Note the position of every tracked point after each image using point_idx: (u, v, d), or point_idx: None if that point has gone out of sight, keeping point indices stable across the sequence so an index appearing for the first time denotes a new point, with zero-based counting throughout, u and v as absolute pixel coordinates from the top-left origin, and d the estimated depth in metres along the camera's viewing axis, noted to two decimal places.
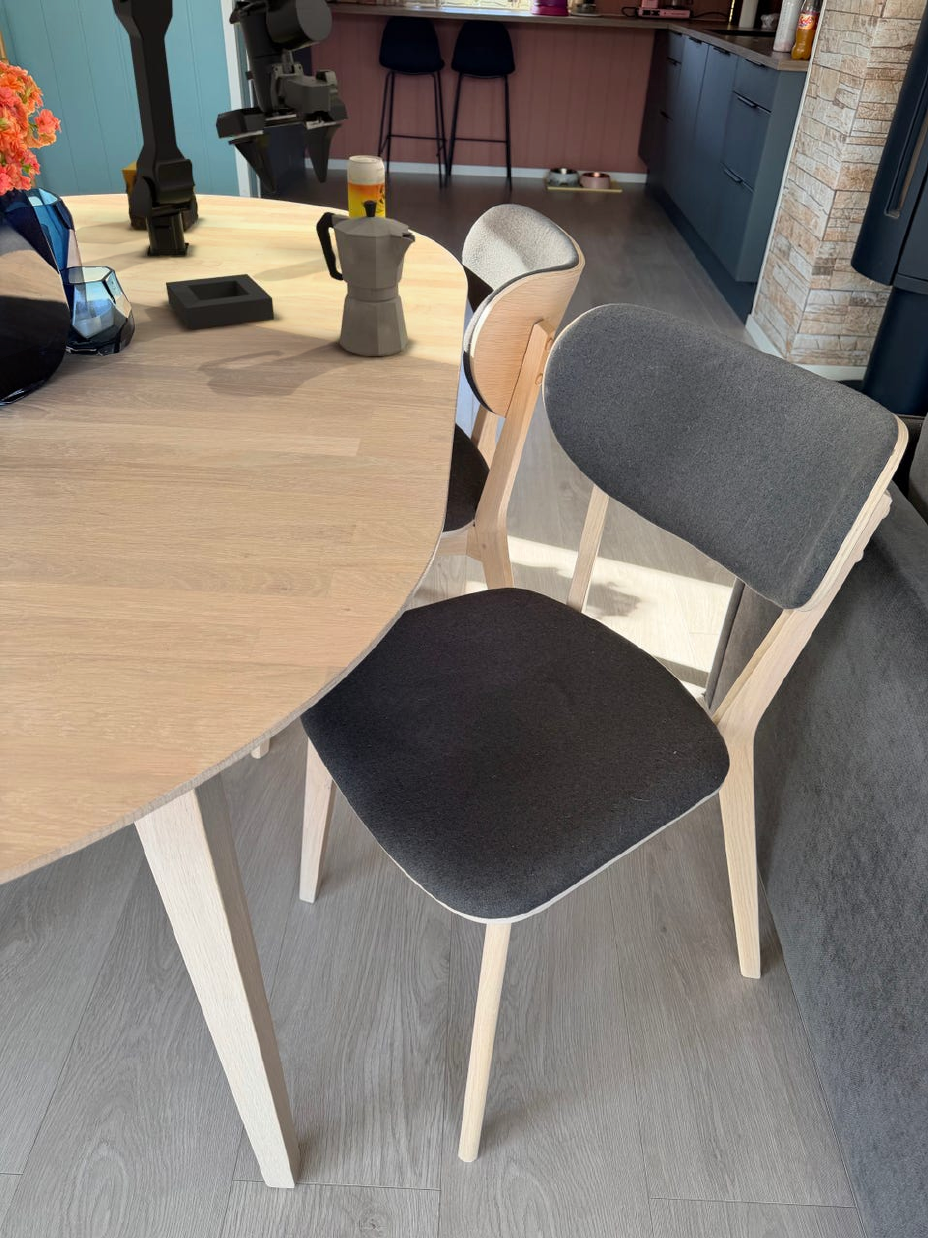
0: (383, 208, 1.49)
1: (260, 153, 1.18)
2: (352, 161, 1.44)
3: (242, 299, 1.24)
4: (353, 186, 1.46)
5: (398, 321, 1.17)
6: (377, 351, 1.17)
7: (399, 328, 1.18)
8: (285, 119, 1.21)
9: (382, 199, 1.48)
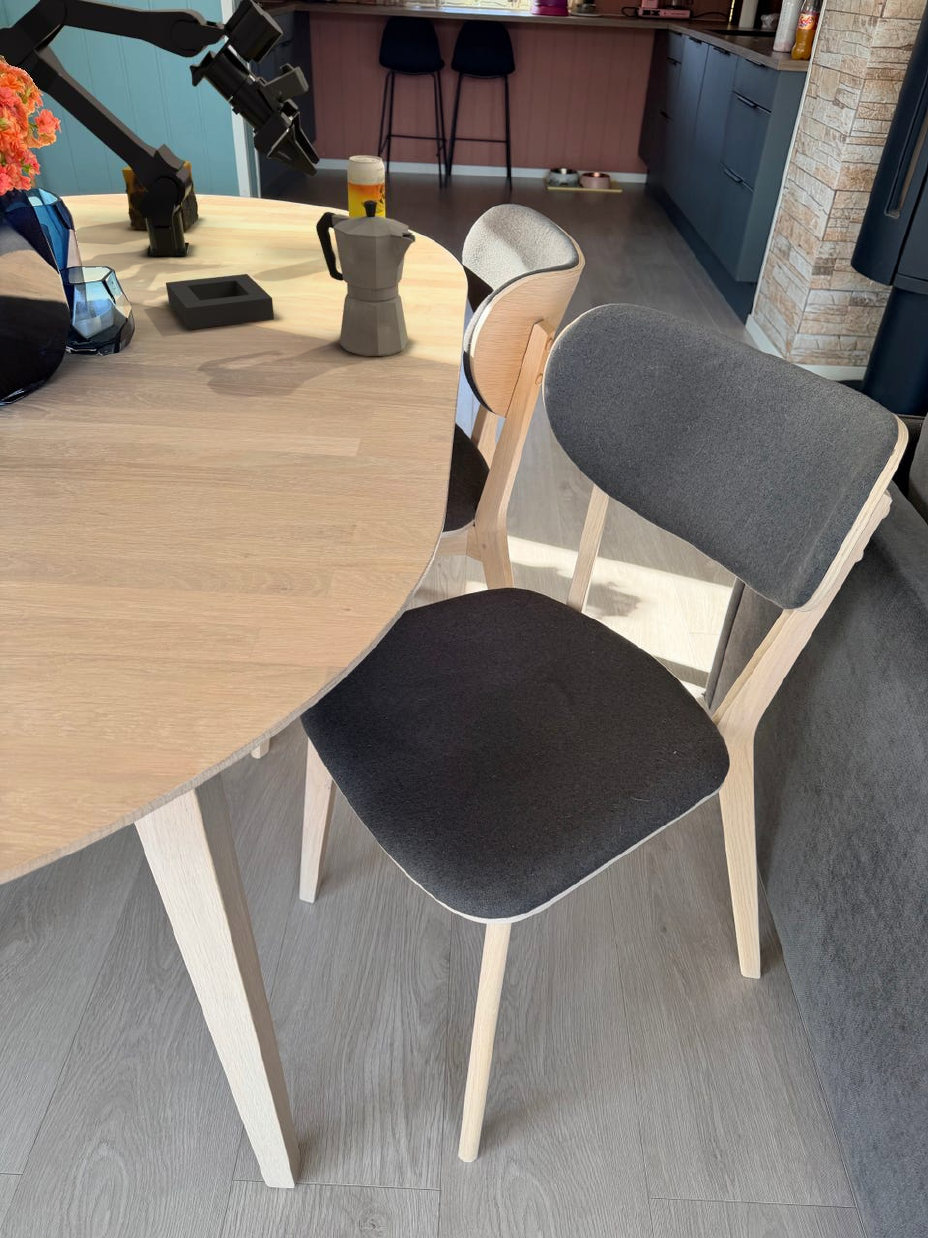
0: (383, 208, 1.49)
1: (297, 144, 1.38)
2: (352, 161, 1.44)
3: (242, 299, 1.24)
4: (354, 186, 1.46)
5: (398, 321, 1.17)
6: (377, 351, 1.17)
7: (399, 328, 1.18)
8: None
9: (382, 199, 1.48)
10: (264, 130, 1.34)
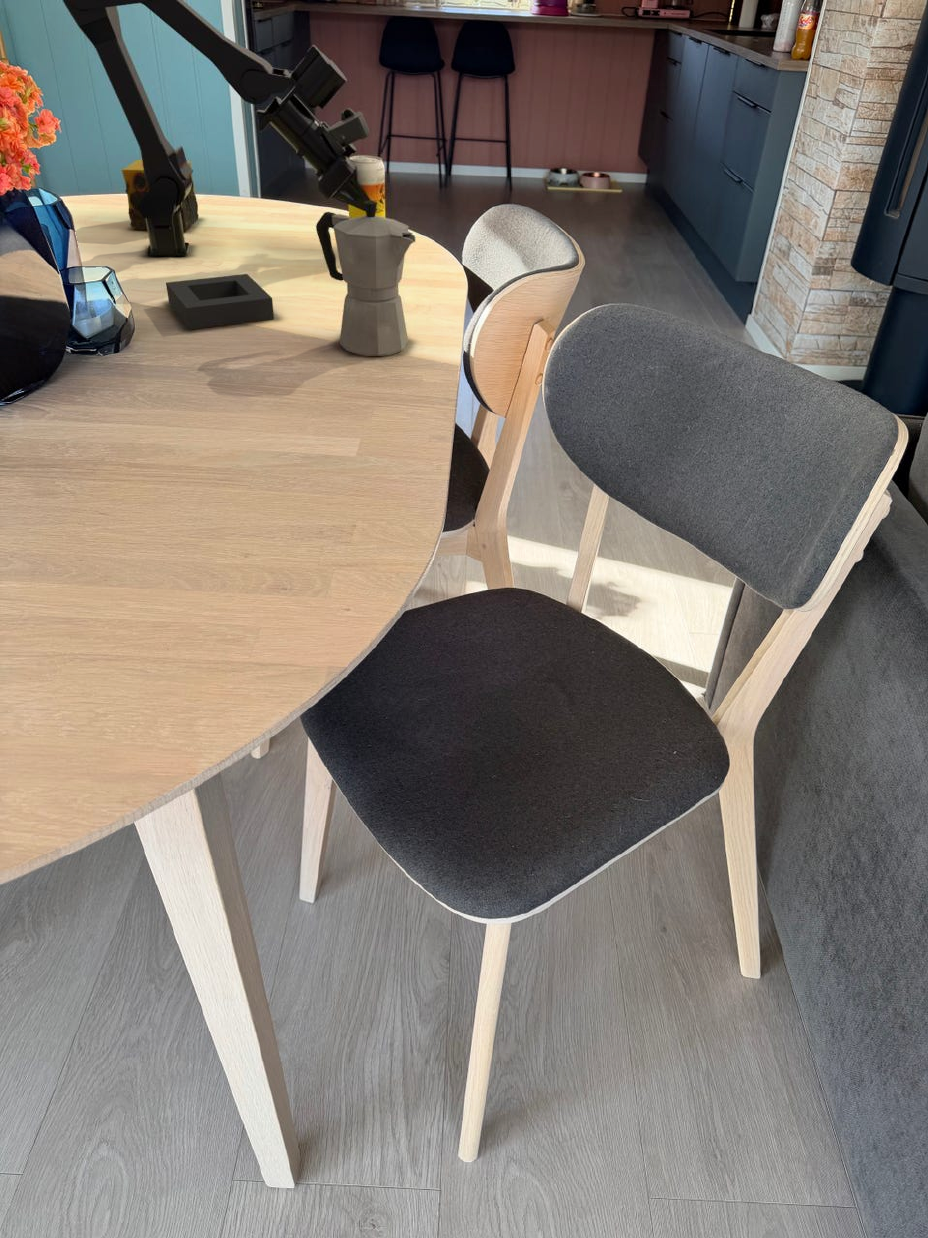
0: (383, 208, 1.49)
1: (359, 185, 1.44)
2: (352, 161, 1.44)
3: (242, 299, 1.24)
4: None
5: (398, 321, 1.17)
6: (377, 351, 1.17)
7: (399, 328, 1.18)
8: None
9: (382, 199, 1.48)
10: (329, 174, 1.38)
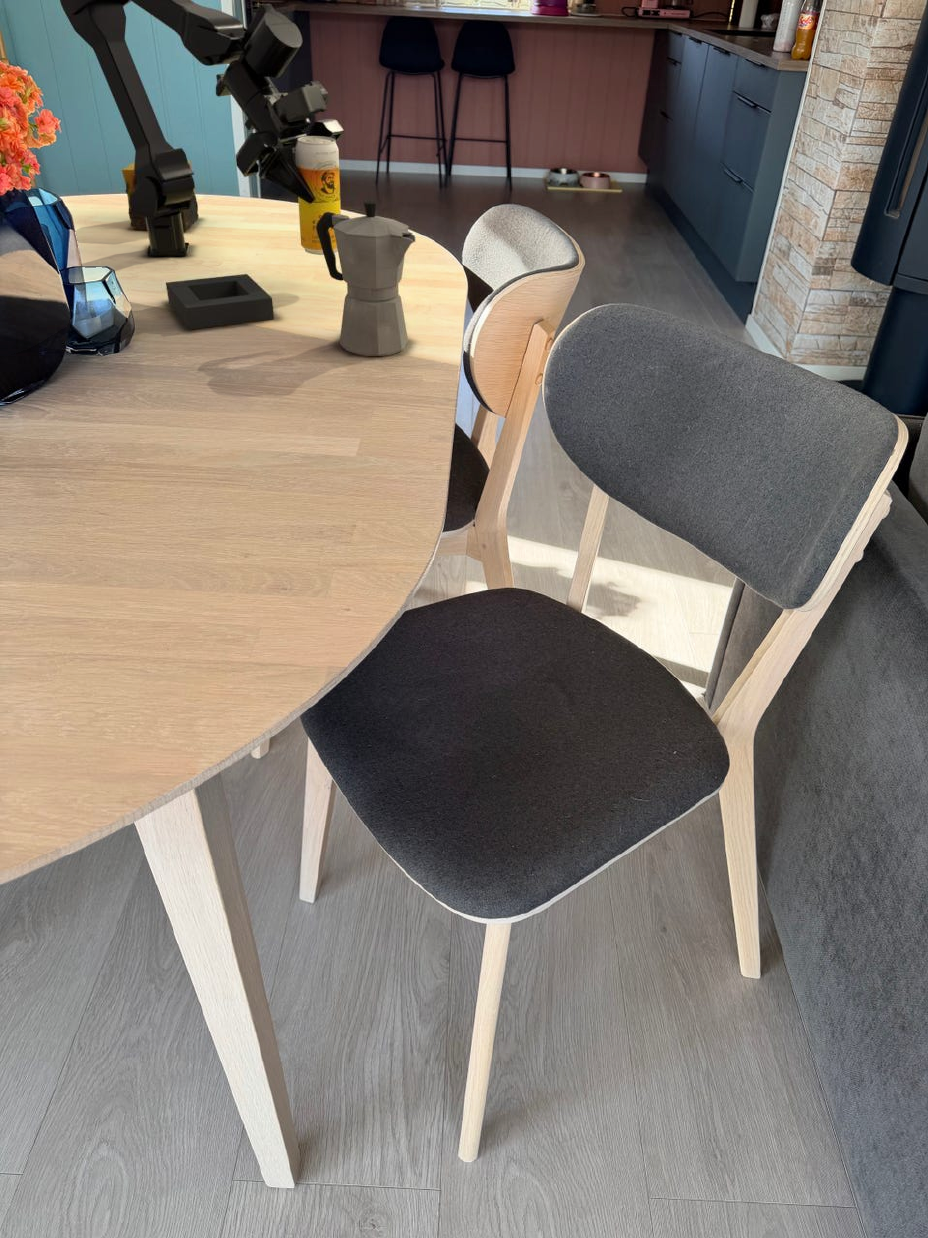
0: (329, 199, 1.29)
1: (290, 167, 1.26)
2: None
3: (242, 299, 1.24)
4: None
5: (398, 321, 1.17)
6: (377, 351, 1.17)
7: (399, 328, 1.18)
8: (292, 144, 1.29)
9: (326, 188, 1.28)
10: (242, 149, 1.23)
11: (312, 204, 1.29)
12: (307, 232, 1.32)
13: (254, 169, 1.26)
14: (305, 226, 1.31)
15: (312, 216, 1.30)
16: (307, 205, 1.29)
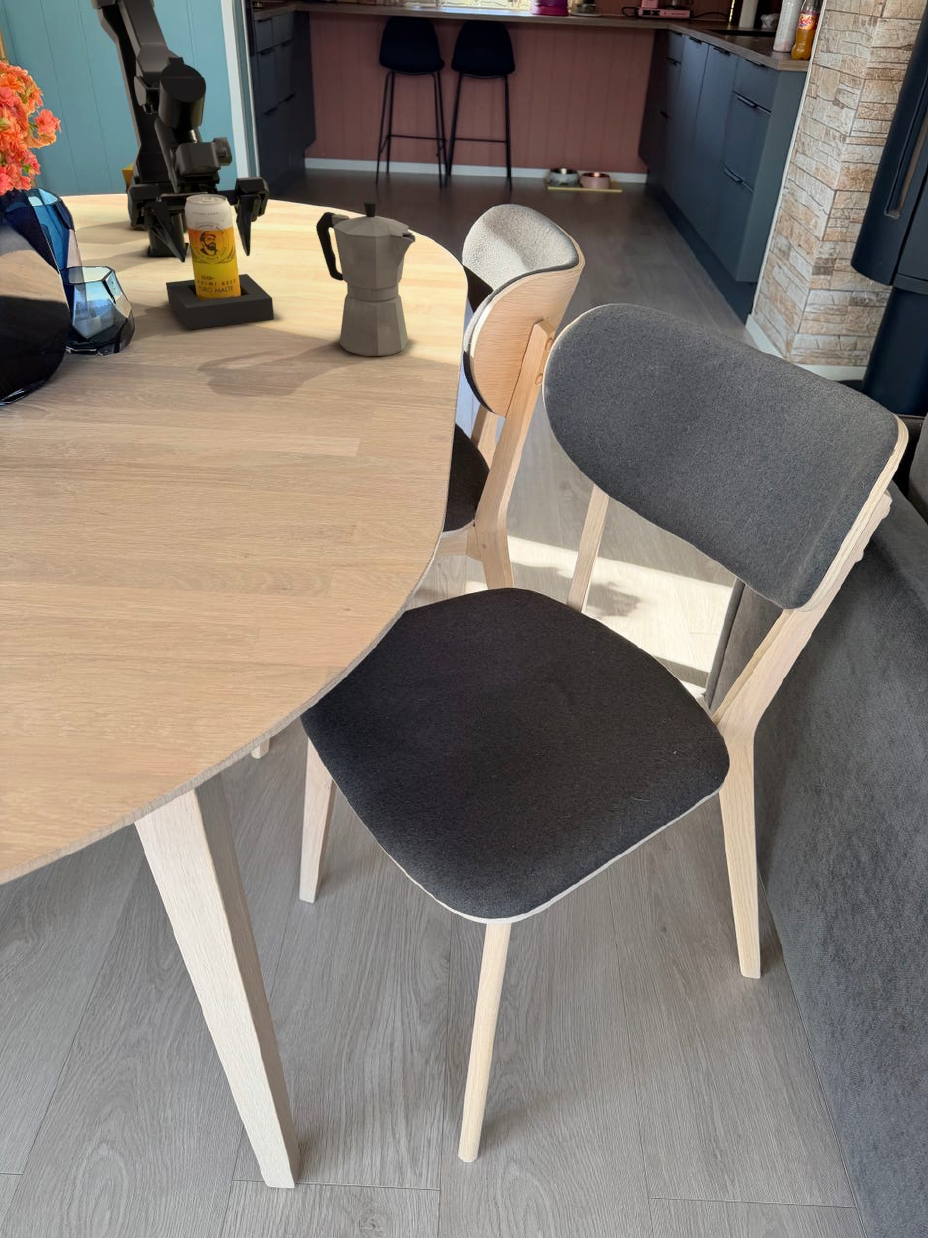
0: (210, 261, 1.22)
1: (161, 223, 1.20)
2: None
3: (242, 299, 1.24)
4: None
5: (398, 321, 1.17)
6: (377, 351, 1.17)
7: (399, 328, 1.18)
8: None
9: (206, 249, 1.21)
10: (128, 199, 1.21)
11: (195, 263, 1.23)
12: (196, 290, 1.26)
13: None
14: (195, 284, 1.26)
15: (197, 276, 1.24)
16: (193, 264, 1.24)
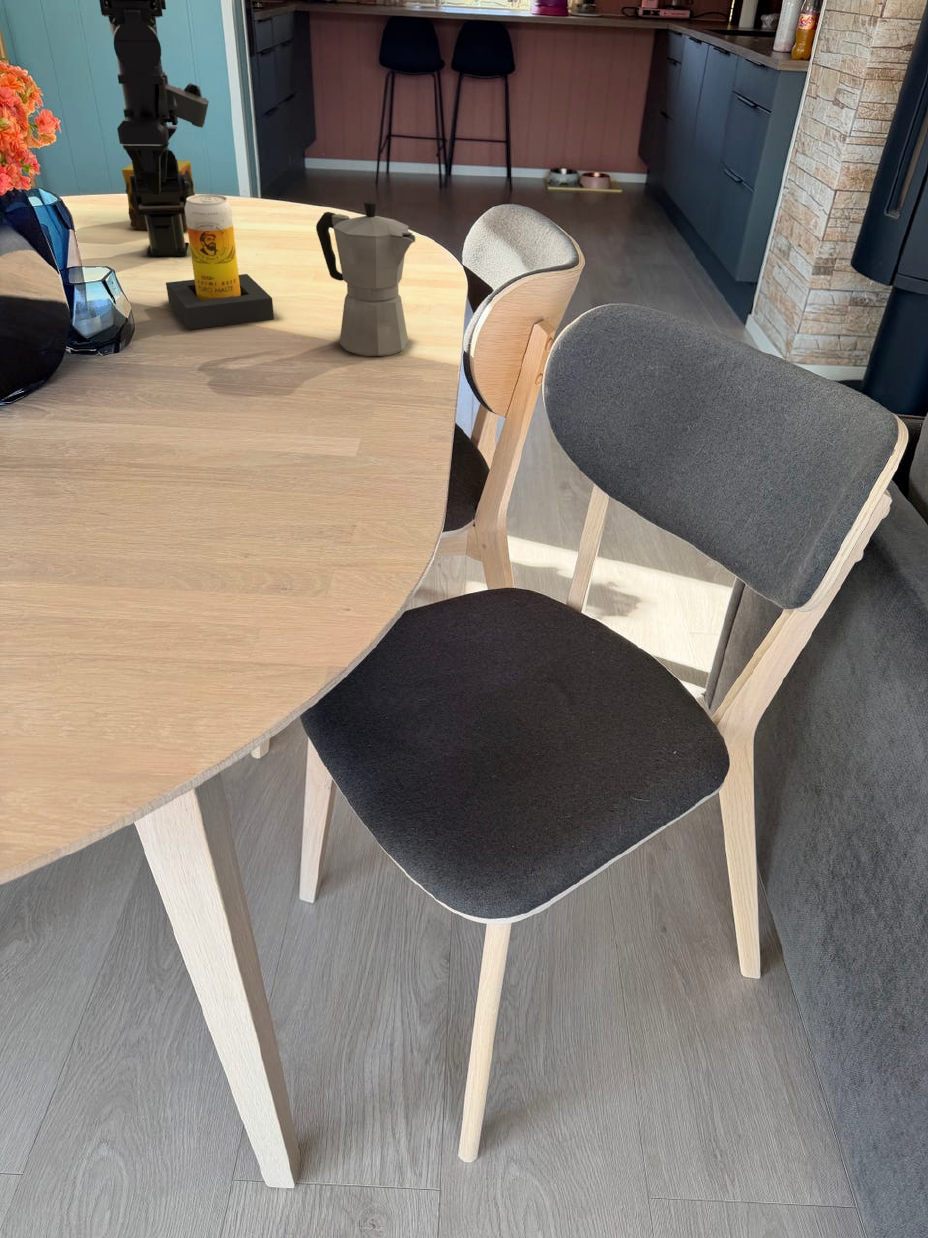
0: (210, 261, 1.22)
1: (159, 160, 1.25)
2: None
3: (242, 299, 1.24)
4: None
5: (398, 321, 1.17)
6: (377, 351, 1.17)
7: (399, 328, 1.18)
8: None
9: (206, 249, 1.21)
10: (139, 125, 1.20)
11: (195, 263, 1.23)
12: (196, 290, 1.26)
13: None
14: (195, 284, 1.26)
15: (196, 276, 1.24)
16: (193, 264, 1.24)
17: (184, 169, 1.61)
